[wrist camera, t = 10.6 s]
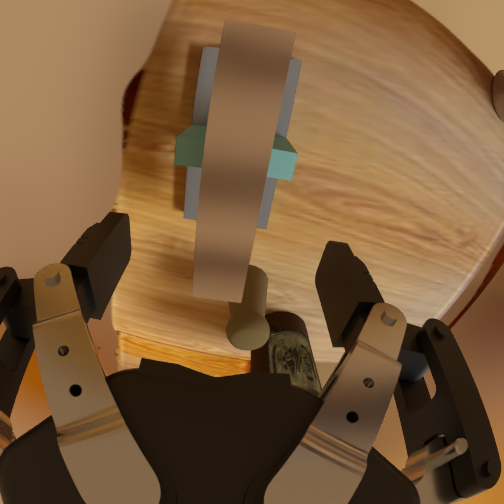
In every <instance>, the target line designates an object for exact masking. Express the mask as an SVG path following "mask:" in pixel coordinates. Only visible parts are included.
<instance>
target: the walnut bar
mask: <svg viewBox="0 0 504 504" xmlns="http://www.w3.org/2000/svg"><path fill="white" fill-rule="evenodd" d="M295 34H296V32H291V31H287V30H282V29H277V28H272V27H266V26H260V25H253V24H246V23H238V22H228V21H225V23H224V27H223V32H222V37H221V43H220V48H219V53H218V59H217V64H216V70H215V76H214V82H213V88H212V95H211V101H210V108H209V115H208V122H207V130H206V137H205V145H204V154H203V162H202V171H201V181H200V191H199V202H198V213H197V226H196V239H195V255H194V272H193V294H192V297H195V298H203V299H211V300H219V301H228V302H237V303H241V301H242V296H243V291H244V286H245V281H246V276H247V271H248V266H249V261H250V256H251V251H252V246H253V241H254V236H255V232H256V227H257V222H258V217H259V212H260V207H261V202H262V197H263V192H264V187H265V182H266V177H267V172H268V167H269V162H270V157H271V152H272V147H273V142H274V138H275V133H276V128H277V123H278V118H279V113H280V108H281V103H282V98H283V93H284V88H285V83H286V78H287V73H288V68H289V63H290V59H291V54H292V49H293V44H294V39H295Z"/></svg>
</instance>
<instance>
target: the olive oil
mask: <svg viewBox="0 0 504 504" xmlns="http://www.w3.org/2000/svg"><path fill="white" fill-rule="evenodd" d="M265 318H266V320H267V322H268V324H269V328H270V335H269V338H268V340H267V342H266V343H265V344H264V345H263V346H262V347H260V348H258V349H254V350H251V372H250V373H252V372H261V373H284V374H290V378H291V384H293V385H296V386H299V387H302V388H304V389H306V390H308V391H311V392H312V393H314V394H315V395H317V396H318V395H319V393H320V392H321V390H322V388H321V384H320V380H319V376H318V373H317V369H316V365H315V361H314V357H313V353H312V350H311V346H310V342H309V337H308V333H307V329H306V325H305V323H304V321H303V320H302V319H301V318H300V317H299V316H297V315H295V314H291V313H286V312H278V313H272V314H268V315H266V316H265Z"/></svg>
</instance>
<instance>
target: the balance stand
mask: <svg viewBox="0 0 504 504" xmlns="http://www.w3.org/2000/svg"><path fill="white" fill-rule="evenodd" d="M218 53H219V47H206V46H203V52H202V57H201V63H200V69H199V75H198V82H197V88H196V95H195V102H194V110H193V118H192V125H191V126H189V127H188V128H187V129H185V130H184V131H183V132H182V133H180V134H179V135H178V136H177V137H176V148H175V161H174V165H179V166H187V176H186V188H185V203H184V218H185V219H194V220H197V213H198V202H199V191H200V181H201V171H202V162H203V154H204V145H205V137H206V130H207V122H208V115H209V108H210V101H211V95H212V88H213V82H214V76H215V70H216V64H217V59H218ZM301 64H302V61H299V60H295V59H290V63H289V68H288V73H287V78H286V83H285V88H284V93H283V98H282V103H281V108H280V113H279V118H278V123H277V128H276V133H275V138H274V142H273V147H272V152H271V157H270V162H269V167H268V172H267V177H266V182H265V187H264V192H263V197H262V202H261V207H260V212H259V217H258V222H257V227H256V228H263V229H266V227H267V223H268V218H269V214H270V209H271V205H272V200H273V196H274V191H275V187H276V182H277V179H283V180H289V181H291V180H292V176H293V172H294V168H295V164H296V159H297V155H298V153H297V152H296V150H295V149H294V148H293V146H292V145H291V144H290V142H289V141H288V140H287V139H286V136H287V131H288V126H289V122H290V117H291V112H292V108H293V103H294V98H295V93H296V88H297V84H298V79H299V74H300V69H301Z"/></svg>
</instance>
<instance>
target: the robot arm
mask: <svg viewBox="0 0 504 504" xmlns="http://www.w3.org/2000/svg"><path fill="white" fill-rule="evenodd" d="M492 97H493V103H494V107H495V110H496V112H497V114H498V116H499V118H500V119H501V120H502V121H503V122H504V70H500V71H498V72H497V73H496V75H495V77H494V80H493V85H492ZM130 256H131V237H130V222H129V216H128V214H126V213H116V212H109V213H108V214H107V216H106V217H105V218H104V219H103V220H102V221H101V223H96V224H94V225H93V226H91V227H89V228H88V229H87V230H86V231H85V232H84V233H83V235H82V236H81V238H79V239H78V241H77V242H76V244H74V245H73V247H72V248H71V249H70V250H69V252H68V253H67V254H66V256H65V257H64V258H63V259H62V261H61V262H60V263H53V264H50V265H47V266H45V267H43V268H42V269H40V270H39V271H38V272H37V274H36V275H35V277H34V278H30V279H18V277H17V274H16V272H15V270H14V269H13V268H12V267H2V268H0V324H1V323H2V321H3V322H4V324H5V326H6V328H7V329H6V331H5V332H4V335H3V337H2V338H1V341H0V493H1V497H2V500H3V504H453V503H456V502H459V501H461V500H464V499H467V498H469V497H472V496H474V495H476V494H479V493H481V492H483V491H485V490H488V489H490V488H492V487H493V486H494V485H495V484H496V483H497V481H498V479H499V477H500V473H501V461H500V457H499V453H498V449H497V446H496V442H495V438H494V435H493V432H492V428H491V425H490V422H489V419H488V416H487V413H486V411H485V408H484V405H483V402H482V399H481V397H480V394H479V392H478V389H477V387H476V384H475V382H474V379H473V377H472V375H471V372H470V370H469V368H468V366H467V363H466V361H465V359H464V357H463V355H462V352H461V350H460V348H459V346H458V344H457V342H456V340H455V338H454V336H453V334H452V332H451V330H450V329H449V328H448V327H447V325H445V324H444V323H443V322H441V321H440V320H437V319H433V318H431V319H428V320H427V321H426V322H425V323H424V325H423V326H422V328H421V327H418V326H415V325H412V324H408V323H407V321H406V318H405V316H404V315H403V313H402V312H401V311H400V310H399V309H398V308H396V307H395V306H393V305H391V304H388V303H385V302H384V300H383V298H382V296H381V294H380V292H379V290H378V288H377V286H376V284H375V282H373V279H372V277H371V275H369V271H368V269H367V267H366V266H365V264H364V263H363V262H362V261H361V260H360V259H359V258H358V257H357V256H354V255H353V253H352V251H351V249H350V247H349V245H348V244H347V243H343V242H336V241H329V242H328V243H327V244H326V247H325V250H324V252H323V255H322V258H321V261H320V263H319V266H318V269H317V272H316V277H315V284H316V288H317V292H318V295H319V299H320V302H321V306H322V309H323V313H324V316H325V320H326V323H327V327H328V331H329V334H330V338H331V342H332V345H333V347H344V348H345V353H344V354H343V356H342V357H341V359H340V361H339V362H338V364H337V366H336V367H335V369H334V371H333V373H332V374H331V376H330V378H329V379H328V381H327V383H326V384H325V386H324V387H323V389H322V390H321V392H320V393H319V395H318V396H317V395H315V394H314V393H312V392H311V391H308V390H306V389H304V388H302V387H299V386H296V385H293V384H291V378H290V374H284V373H261V372H252V373H245V374H239V375H231V376H224V377H213V376H209V375H206V374H203V373H201V372H198V371H195V370H192V369H189V368H187V367H184V366H181V365H179V364H174V363H167V362H161V361H156V360H150V359H145V358H142V359H141V363H140V367H139V368H134V369H127V370H123V371H119V372H117V373H113V374H111V375H109V376H107V375H106V372H105V370H104V368H103V365H102V363H101V361H100V358H99V355H98V353H97V350H96V347H95V345H94V342H93V339H92V337H91V334H90V331H89V328H88V325H87V323H88V321H89V319H90V318H94V319H98V320H101V318H102V316H103V313H104V311H105V309H106V307H107V305H108V303H109V301H110V299H111V296H112V294H113V292H114V290H115V288H116V286H117V284H118V282H119V280H120V278H121V276H122V274H123V272H124V270H125V268H126V266H127V265H128V263H129V260H130ZM35 347H36V353H37V358H38V363H39V367H40V373H41V377H42V381H43V385H44V389H45V393H46V396H47V400H48V404H49V407H50V411H51V414H52V415H51V416H49V417H48V418H46V419H45V420H43V421H42V422H41V423H39V424H38V425H36V426H35V427H33V428H32V429H30V430H29V431H28V432H26V433H25V434H23V435H22V436H20V437H19V438H17V439H16V438H15V434H14V433H13V432H12V424H11V421H10V415H11V412H12V409H13V405H14V402H15V399H16V396H17V393H18V390H19V387H20V384H21V381H22V379H23V376H24V373H25V371H26V368H27V365H28V363H29V361H30V358H31V356H32V353H33V351H34V349H35ZM429 369H430V370H431V373H432V376H433V379H434V381H435V384H436V393H435V396H434V397H433V398H432V399H431V398H430V395H429V391H428V388H427V386H426V383H425V380H424V377H423V376H424V375H425V374H426V373H427V372H428V370H429ZM393 394H394V398H395V401H396V405H397V409H398V413H399V417H400V421H401V426H402V430H403V435H404V439H405V444H406V449H407V454H408V459H407V461H406V465H405V468H404V469H402V471H400V470H398V469H397V468H396V467H395V466H394V465H393V464H391V463H390V462H389V461H388V460H387V459H386V458H385V457H383V456H382V455H381V454H380V453H379V452H378V451H377V450H376V449H375V448H374V447H372V445H373V443H374V441H375V439H376V436H377V434H378V432H379V429H380V427H381V424H382V422H383V420H384V417H385V414H386V412H387V409H388V407H389V404H390V401H391V398H392V395H393Z"/></svg>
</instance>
